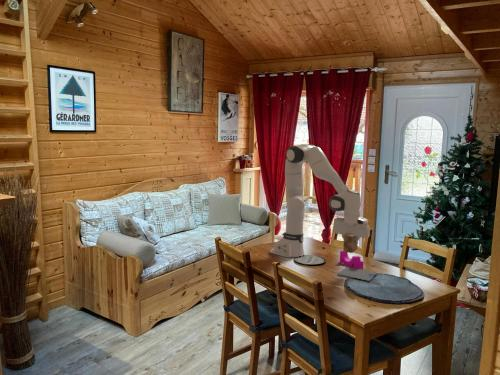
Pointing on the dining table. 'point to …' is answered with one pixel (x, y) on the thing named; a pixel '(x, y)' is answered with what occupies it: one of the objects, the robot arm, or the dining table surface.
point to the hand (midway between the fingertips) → (350, 243)
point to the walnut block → (350, 243)
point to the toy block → (351, 260)
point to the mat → (356, 273)
